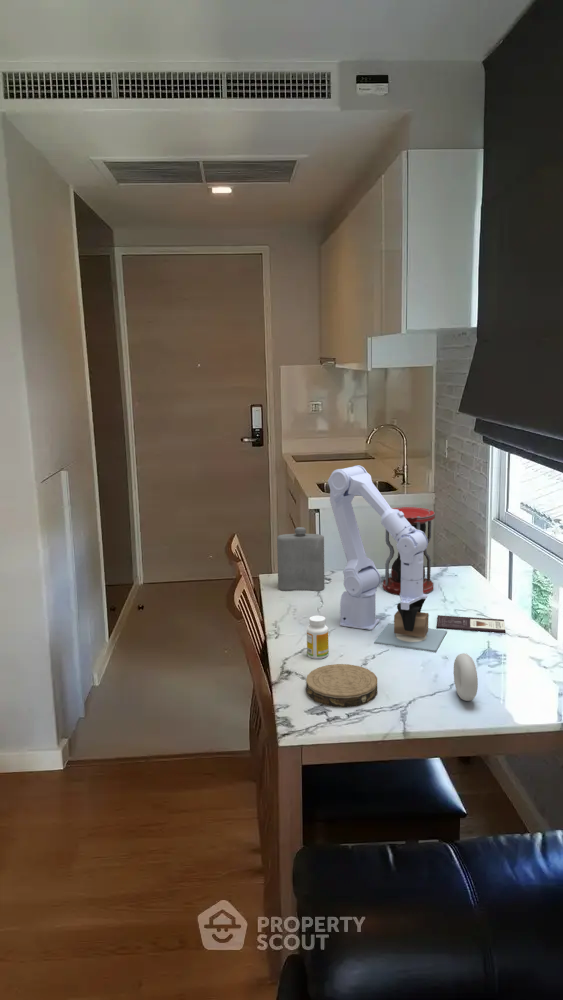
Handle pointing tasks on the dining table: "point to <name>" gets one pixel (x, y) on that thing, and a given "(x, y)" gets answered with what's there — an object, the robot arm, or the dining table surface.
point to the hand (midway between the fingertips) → (411, 627)
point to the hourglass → (393, 584)
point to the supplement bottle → (317, 638)
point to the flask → (300, 561)
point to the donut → (465, 677)
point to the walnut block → (419, 625)
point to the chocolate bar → (470, 624)
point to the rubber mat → (411, 639)
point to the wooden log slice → (341, 685)
